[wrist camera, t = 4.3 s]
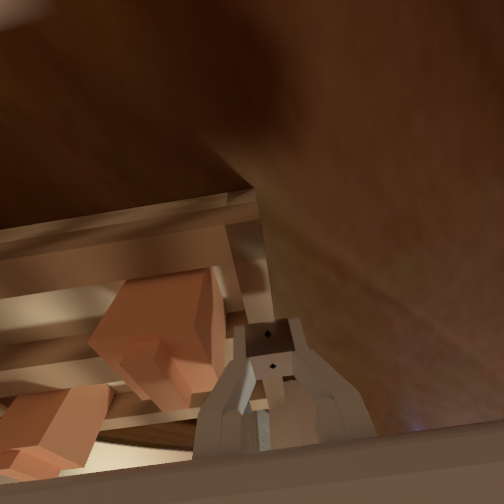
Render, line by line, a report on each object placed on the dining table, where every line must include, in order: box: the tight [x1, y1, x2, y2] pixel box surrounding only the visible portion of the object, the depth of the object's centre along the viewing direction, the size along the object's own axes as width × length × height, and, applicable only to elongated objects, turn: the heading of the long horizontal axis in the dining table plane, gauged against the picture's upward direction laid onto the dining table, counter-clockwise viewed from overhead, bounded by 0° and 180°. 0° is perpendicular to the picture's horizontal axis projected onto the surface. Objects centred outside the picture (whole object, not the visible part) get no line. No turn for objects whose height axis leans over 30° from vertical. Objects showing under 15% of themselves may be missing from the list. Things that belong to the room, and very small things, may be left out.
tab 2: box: [87, 267, 227, 412], centre depth 11 cm, size 4×5×6 cm
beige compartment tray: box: [0, 188, 286, 431], centre depth 16 cm, size 22×18×4 cm
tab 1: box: [0, 383, 115, 482], centre depth 16 cm, size 4×5×6 cm
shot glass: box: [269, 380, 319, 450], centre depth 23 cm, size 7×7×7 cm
